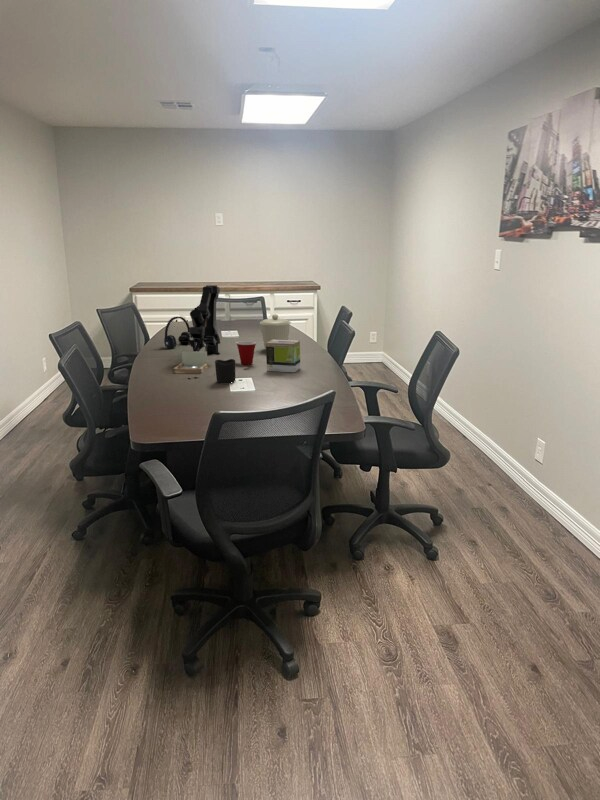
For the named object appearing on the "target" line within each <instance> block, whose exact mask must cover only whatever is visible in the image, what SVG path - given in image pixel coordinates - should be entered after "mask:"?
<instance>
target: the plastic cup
mask: <svg viewBox="0 0 600 800" xmlns="http://www.w3.org/2000/svg"><path fill="white" fill-rule="evenodd" d="M235 344H236V346H237V350H238V355H239V359H240V363H241V366H251V364H252V365H253V361H254V357H255V356H254V355H255V348H256V346H257V342H255V341H246V340H245V341H244V340H243V341H242V340H241V341H236V342H235Z"/></svg>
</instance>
